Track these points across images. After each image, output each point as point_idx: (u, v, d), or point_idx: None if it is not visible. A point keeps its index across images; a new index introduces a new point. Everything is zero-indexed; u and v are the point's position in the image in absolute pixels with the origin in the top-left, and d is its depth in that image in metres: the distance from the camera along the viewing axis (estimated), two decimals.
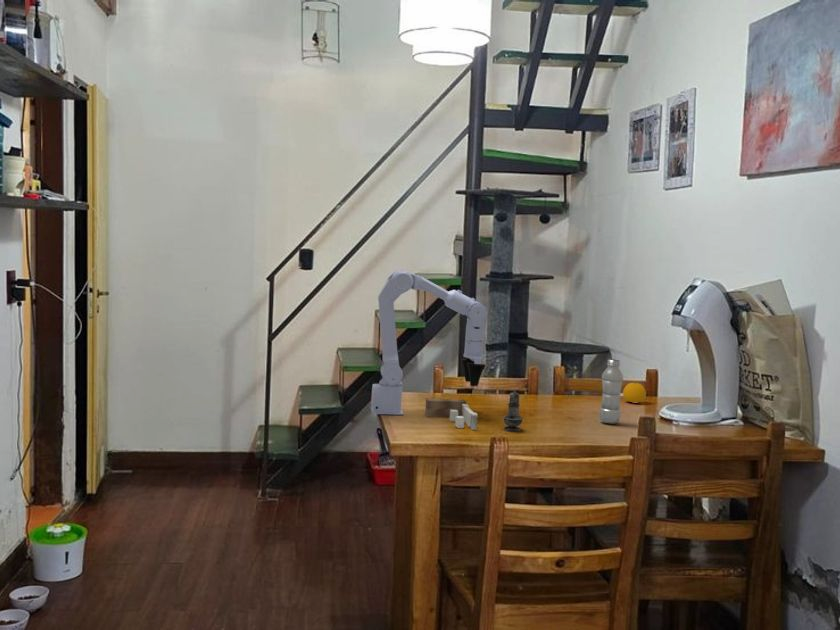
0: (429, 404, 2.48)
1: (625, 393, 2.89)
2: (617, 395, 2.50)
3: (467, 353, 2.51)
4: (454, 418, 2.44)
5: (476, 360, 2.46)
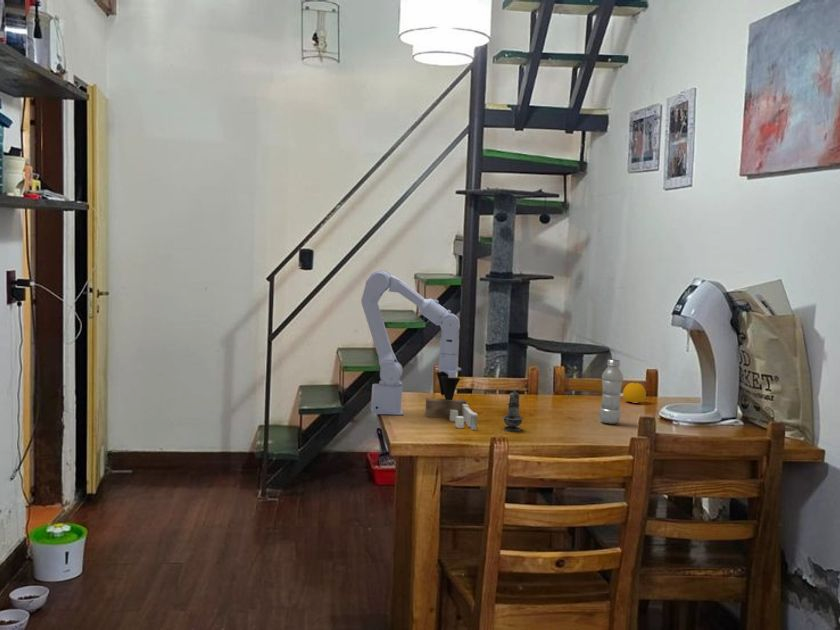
0: (429, 404, 2.48)
1: (625, 393, 2.89)
2: (617, 395, 2.50)
3: (441, 366, 2.48)
4: (454, 418, 2.44)
5: (450, 374, 2.43)
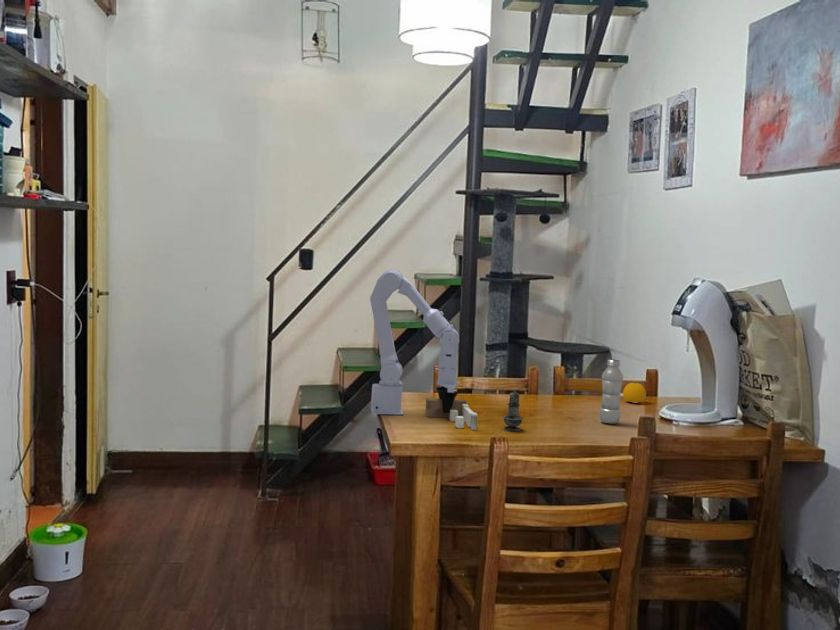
0: (429, 404, 2.48)
1: (625, 393, 2.89)
2: (617, 395, 2.50)
3: (440, 381, 2.48)
4: (454, 418, 2.44)
5: (449, 388, 2.43)
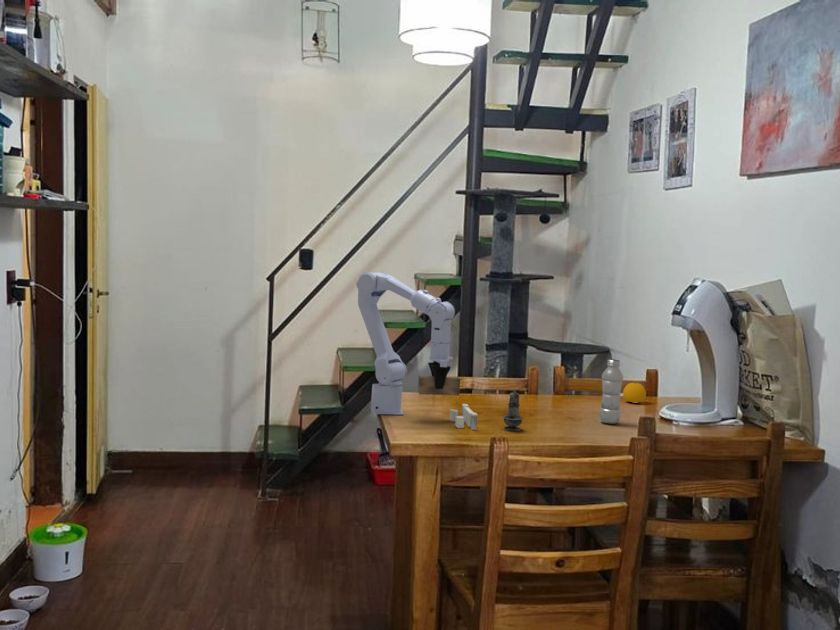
0: (422, 381, 2.41)
1: (625, 393, 2.89)
2: (617, 395, 2.50)
3: (433, 356, 2.41)
4: (454, 418, 2.44)
5: (442, 363, 2.35)
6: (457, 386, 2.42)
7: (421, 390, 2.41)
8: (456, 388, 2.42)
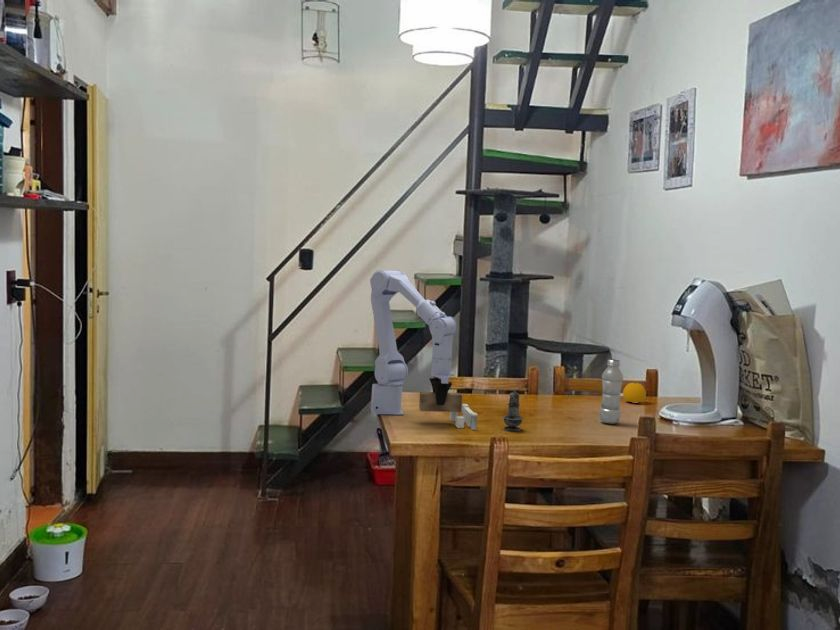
0: (423, 398, 2.37)
1: (625, 393, 2.89)
2: (617, 395, 2.50)
3: (434, 371, 2.37)
4: (454, 418, 2.44)
5: (443, 379, 2.32)
6: (459, 403, 2.39)
7: (422, 407, 2.37)
8: (458, 405, 2.39)
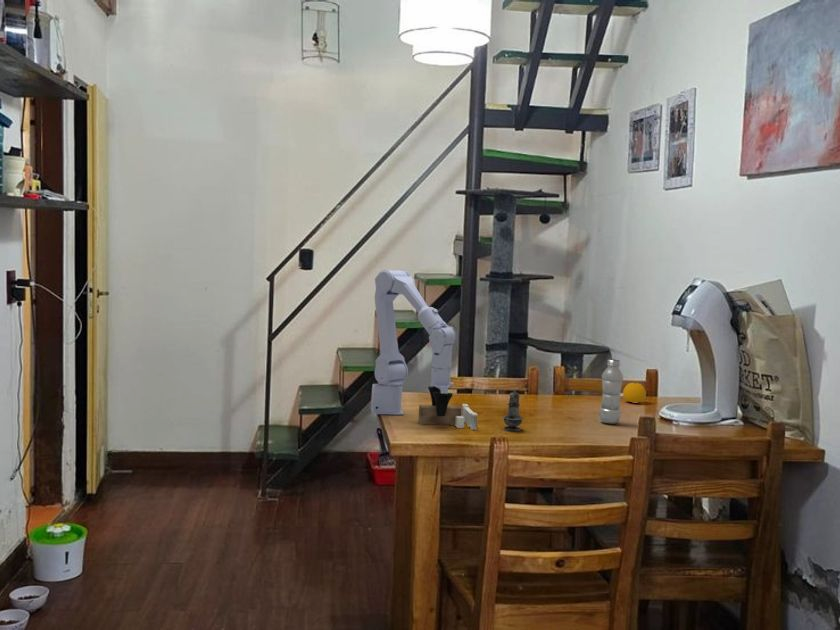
0: (422, 411, 2.37)
1: (625, 393, 2.89)
2: (617, 395, 2.50)
3: (433, 381, 2.37)
4: None
5: (442, 389, 2.32)
6: None
7: (421, 420, 2.37)
8: None
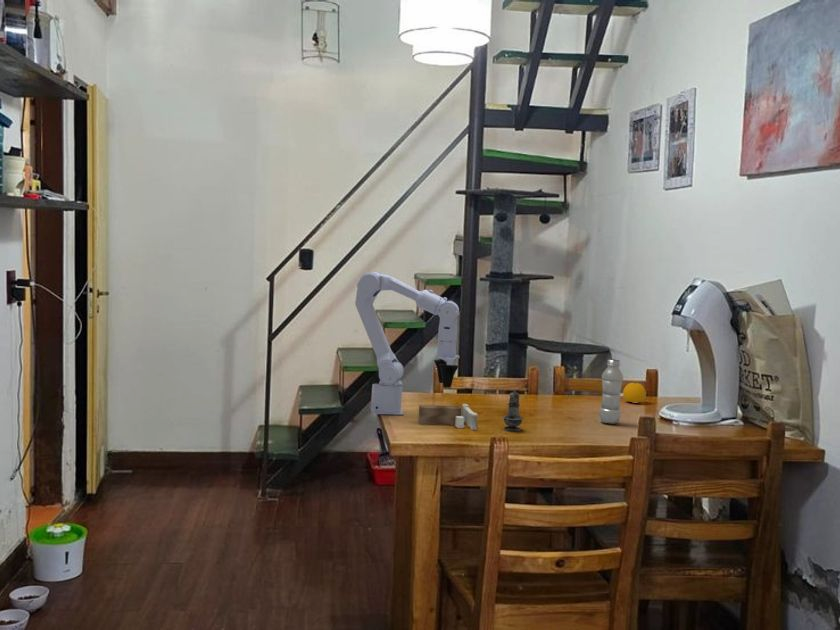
0: (422, 411, 2.37)
1: (625, 393, 2.89)
2: (617, 395, 2.50)
3: (440, 354, 2.46)
4: None
5: (448, 361, 2.41)
6: None
7: (421, 420, 2.37)
8: None
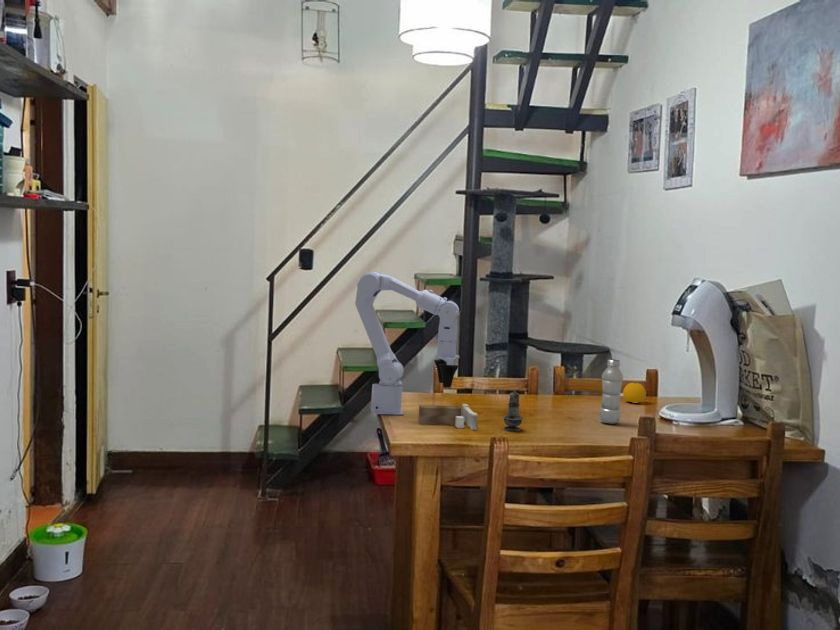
0: (422, 411, 2.37)
1: (625, 393, 2.89)
2: (617, 395, 2.50)
3: (440, 354, 2.46)
4: None
5: (448, 361, 2.41)
6: None
7: (421, 420, 2.37)
8: None
